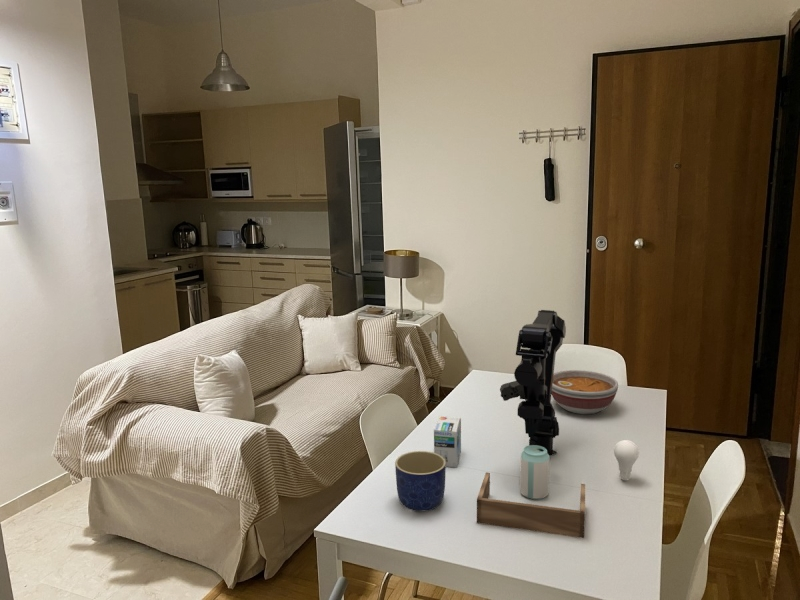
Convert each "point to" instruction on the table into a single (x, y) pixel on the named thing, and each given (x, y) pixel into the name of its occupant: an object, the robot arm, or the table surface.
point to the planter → (420, 480)
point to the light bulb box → (448, 439)
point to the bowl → (583, 391)
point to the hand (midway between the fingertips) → (532, 430)
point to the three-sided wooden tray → (530, 514)
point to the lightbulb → (626, 457)
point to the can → (534, 472)
